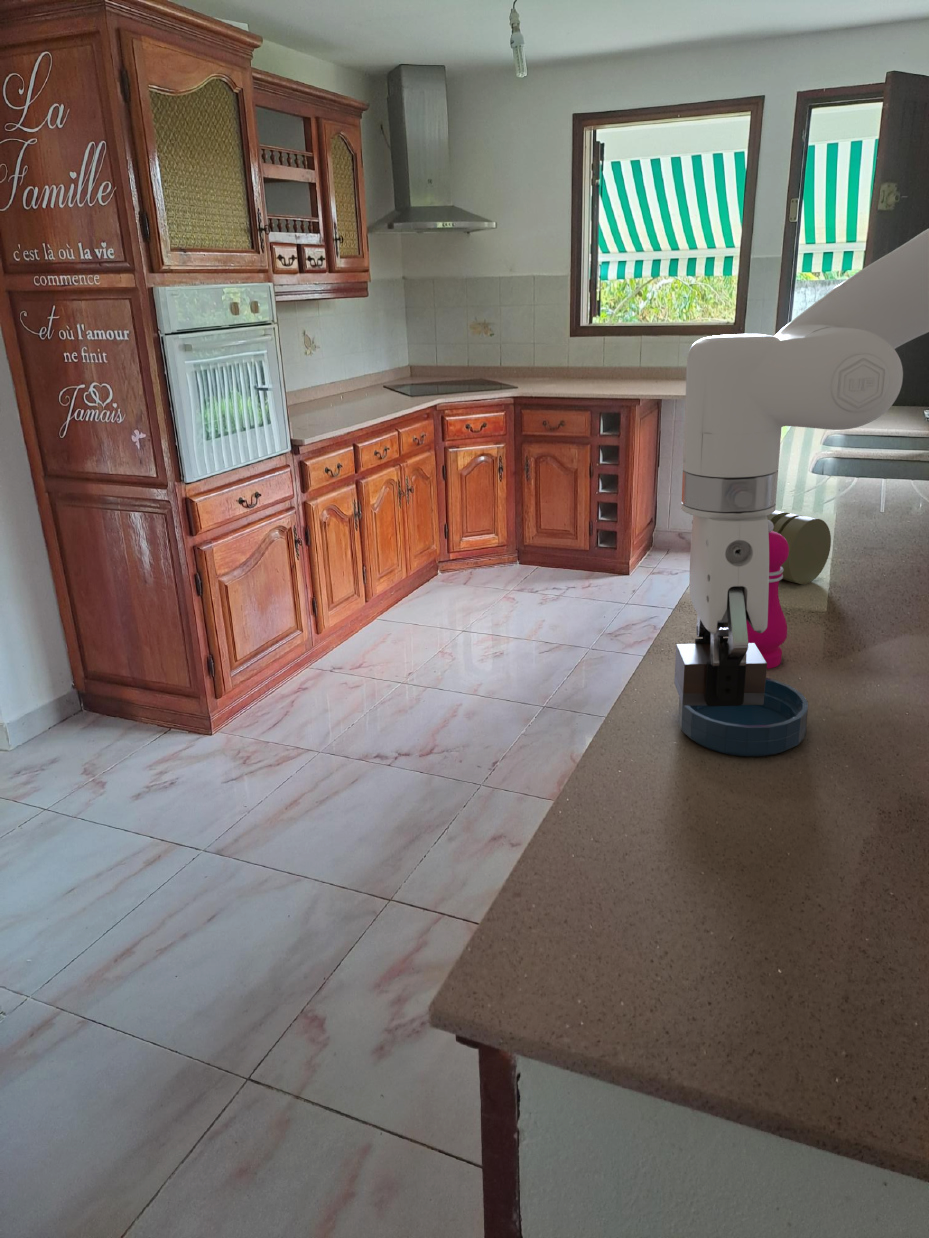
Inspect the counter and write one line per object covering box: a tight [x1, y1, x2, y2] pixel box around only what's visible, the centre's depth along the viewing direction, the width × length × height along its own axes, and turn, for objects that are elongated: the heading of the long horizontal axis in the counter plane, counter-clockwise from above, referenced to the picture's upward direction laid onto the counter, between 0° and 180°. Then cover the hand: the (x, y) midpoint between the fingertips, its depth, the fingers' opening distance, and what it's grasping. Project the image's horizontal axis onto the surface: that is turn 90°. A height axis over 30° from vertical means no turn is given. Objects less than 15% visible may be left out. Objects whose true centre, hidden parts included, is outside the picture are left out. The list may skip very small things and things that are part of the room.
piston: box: [766, 509, 832, 585], centre depth 154 cm, size 11×12×11 cm
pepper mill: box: [747, 520, 789, 670], centre depth 118 cm, size 7×7×20 cm
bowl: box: [677, 677, 809, 757], centre depth 103 cm, size 14×14×4 cm
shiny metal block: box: [673, 643, 768, 706], centre depth 78 cm, size 7×4×4 cm, turn 86°
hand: (717, 689), depth 79 cm, fingers closed on shiny metal block, 4 cm apart
